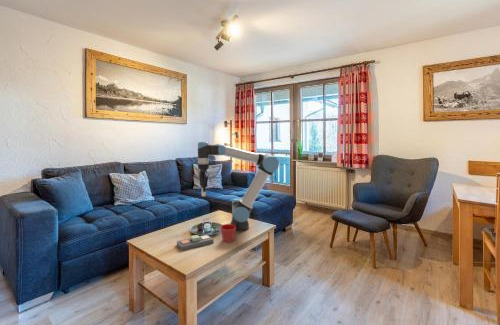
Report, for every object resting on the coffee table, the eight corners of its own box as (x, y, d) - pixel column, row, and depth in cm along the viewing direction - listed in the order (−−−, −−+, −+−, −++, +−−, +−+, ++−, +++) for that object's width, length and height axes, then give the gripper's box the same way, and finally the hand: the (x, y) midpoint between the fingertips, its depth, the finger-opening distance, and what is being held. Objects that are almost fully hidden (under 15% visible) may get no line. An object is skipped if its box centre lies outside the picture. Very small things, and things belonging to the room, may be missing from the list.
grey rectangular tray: (207, 237, 184) (207, 234, 183) (213, 242, 175) (213, 239, 175) (176, 244, 172) (176, 241, 171) (181, 250, 163) (181, 246, 163)
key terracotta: (187, 242, 173) (187, 239, 173) (189, 245, 169) (189, 242, 169) (180, 244, 170) (180, 241, 170) (182, 246, 166) (182, 243, 166)
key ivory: (206, 238, 180) (206, 235, 180) (209, 240, 176) (209, 237, 176) (200, 239, 178) (200, 236, 178) (203, 242, 174) (203, 239, 174)
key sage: (197, 237, 176) (197, 234, 176) (199, 240, 172) (199, 237, 172) (190, 239, 174) (190, 236, 174) (193, 241, 170) (193, 238, 170)
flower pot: (221, 243, 174) (221, 230, 173) (220, 237, 185) (220, 224, 183) (236, 242, 176) (236, 228, 175) (234, 236, 187) (234, 223, 186)
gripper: (195, 163, 186) (195, 194, 189) (201, 164, 175) (202, 198, 178) (204, 162, 190) (205, 193, 193) (211, 164, 179) (212, 197, 182)
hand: (203, 195), depth 185 cm, fingers closed
